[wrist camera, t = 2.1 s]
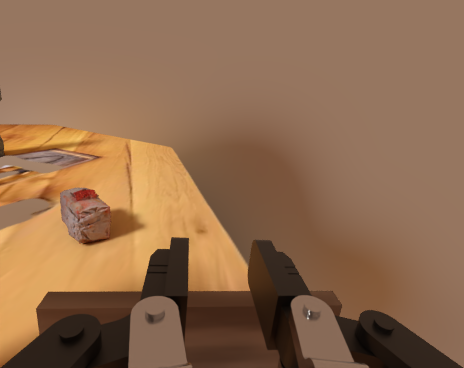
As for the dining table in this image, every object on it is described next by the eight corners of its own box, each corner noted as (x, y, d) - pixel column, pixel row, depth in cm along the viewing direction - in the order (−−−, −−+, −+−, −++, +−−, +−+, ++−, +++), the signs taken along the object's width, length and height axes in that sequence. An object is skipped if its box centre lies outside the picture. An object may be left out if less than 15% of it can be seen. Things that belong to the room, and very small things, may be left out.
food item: (116, 239, 60) (115, 197, 57) (76, 251, 55) (73, 205, 52) (92, 216, 69) (90, 178, 66) (55, 224, 64) (51, 183, 61)
